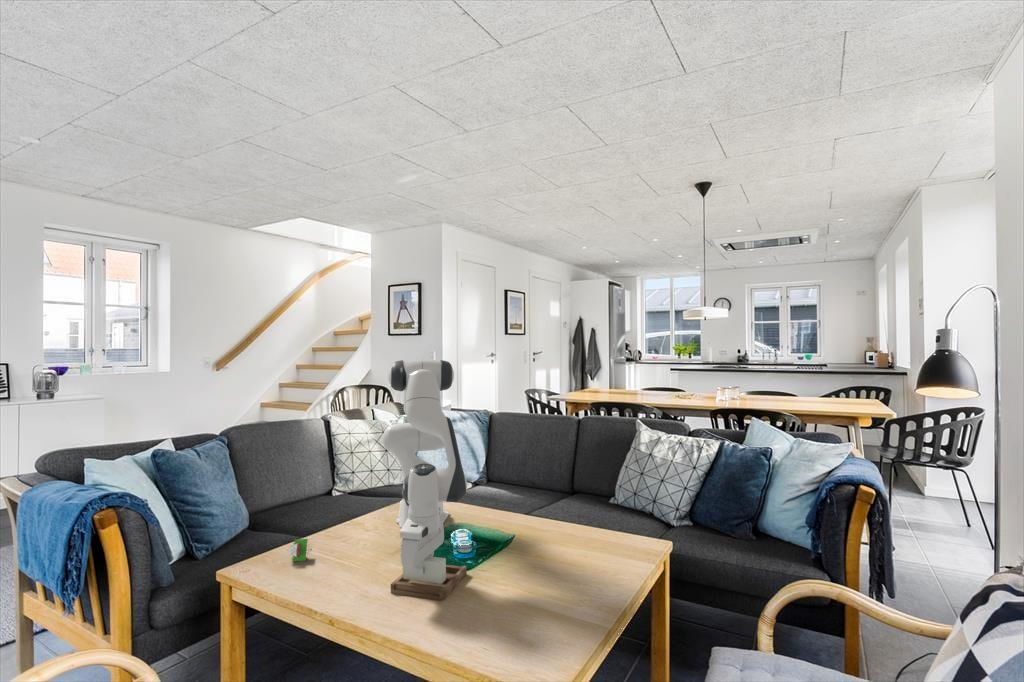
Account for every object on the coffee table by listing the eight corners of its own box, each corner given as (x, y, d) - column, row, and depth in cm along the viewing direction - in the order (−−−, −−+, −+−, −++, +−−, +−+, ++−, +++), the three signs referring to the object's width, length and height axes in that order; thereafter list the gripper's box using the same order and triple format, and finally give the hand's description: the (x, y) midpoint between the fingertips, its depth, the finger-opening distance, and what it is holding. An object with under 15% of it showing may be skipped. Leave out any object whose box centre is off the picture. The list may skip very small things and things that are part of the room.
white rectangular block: (408, 574, 159) (407, 553, 158) (445, 579, 155) (445, 558, 155) (403, 578, 156) (402, 557, 156) (441, 583, 152) (441, 562, 152)
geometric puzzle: (294, 547, 181) (289, 533, 176) (315, 546, 182) (310, 532, 177) (289, 567, 176) (283, 553, 171) (310, 566, 176) (306, 552, 171)
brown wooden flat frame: (418, 567, 169) (418, 559, 169) (466, 574, 164) (466, 566, 164) (390, 593, 153) (390, 584, 153) (442, 600, 148) (442, 591, 148)
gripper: (429, 510, 166) (430, 555, 166) (396, 534, 146) (396, 585, 147) (449, 512, 164) (449, 557, 164) (417, 536, 145) (418, 588, 145)
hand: (424, 570), depth 155 cm, fingers closed on white rectangular block, 3 cm apart
